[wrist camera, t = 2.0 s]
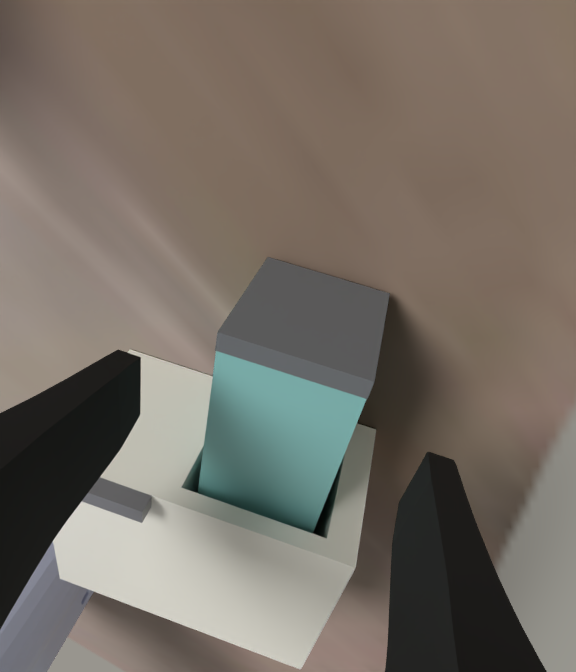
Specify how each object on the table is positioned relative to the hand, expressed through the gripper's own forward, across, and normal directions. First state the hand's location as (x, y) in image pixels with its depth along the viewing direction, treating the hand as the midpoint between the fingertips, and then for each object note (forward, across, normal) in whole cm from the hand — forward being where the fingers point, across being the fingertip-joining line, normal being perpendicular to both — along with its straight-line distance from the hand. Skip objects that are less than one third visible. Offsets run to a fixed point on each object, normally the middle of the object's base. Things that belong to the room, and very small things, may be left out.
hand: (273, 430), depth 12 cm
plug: (+6, 0, +4) cm, 7 cm away
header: (+6, +2, +9) cm, 11 cm away
